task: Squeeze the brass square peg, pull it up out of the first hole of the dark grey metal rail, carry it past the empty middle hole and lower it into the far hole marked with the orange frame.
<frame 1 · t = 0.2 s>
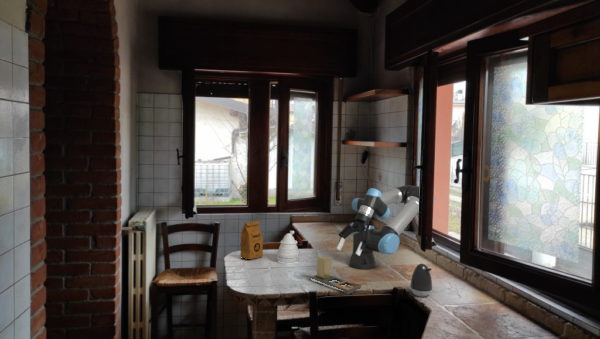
hand: (347, 252, 236), 16 cm above the table, tool tilted 35°, fingers open, 13 cm apart
honey pot: (288, 261, 271), on the table
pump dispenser: (420, 295, 221), on the table
rail: (335, 284, 232), on the table
brass peg: (323, 280, 238), resting in rail
coffee package: (251, 258, 275), on the table
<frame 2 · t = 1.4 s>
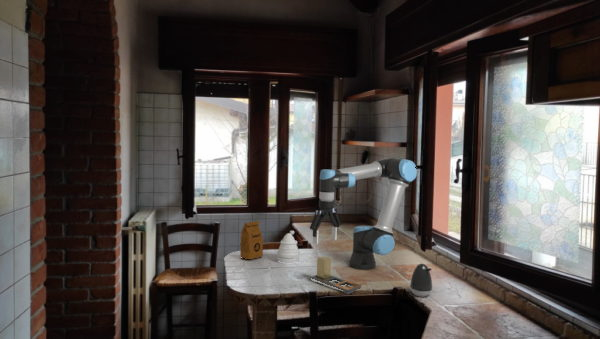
hand: (324, 241, 236), 21 cm above the table, tool pointing down, fingers open, 13 cm apart
nothing on the table moved.
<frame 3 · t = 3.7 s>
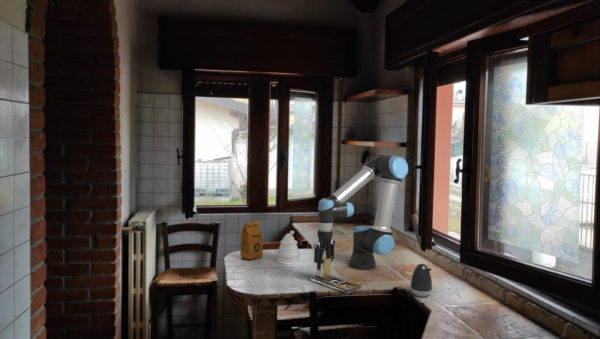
hand: (323, 274, 238), 3 cm above the table, tool pointing down, fingers closed on brass peg, 5 cm apart
brass peg: (323, 280, 238), resting in rail, touching gripper
everything else where it was.
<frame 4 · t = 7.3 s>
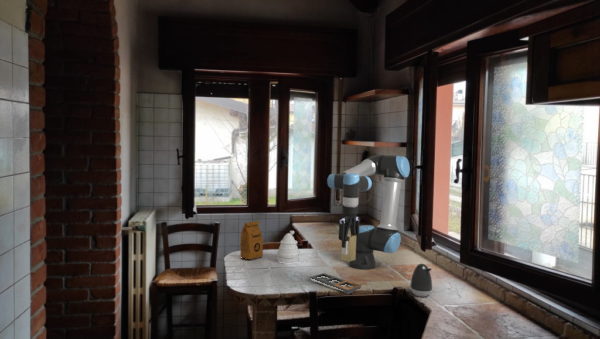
hand: (348, 252, 225), 18 cm above the table, tool pointing down, fingers closed on brass peg, 5 cm apart
brass peg: (348, 259, 225), point 15 cm above the table, touching gripper
everything else where it was.
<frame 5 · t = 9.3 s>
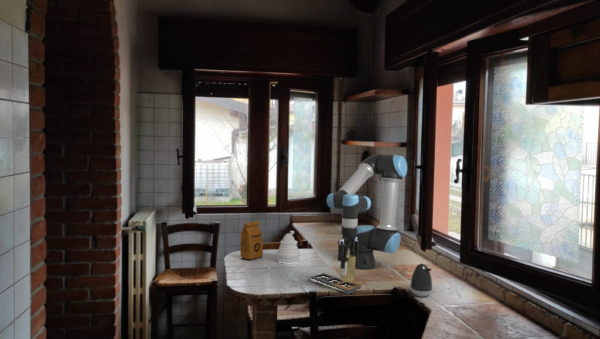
hand: (347, 273, 226), 8 cm above the table, tool pointing down, fingers closed on brass peg, 5 cm apart
brass peg: (347, 280, 226), point 5 cm above the table, touching gripper
everything else where it was.
when the fingers open (5 cm above the table, at t = 10.9 s): brass peg drops 1 cm, resting in rail.
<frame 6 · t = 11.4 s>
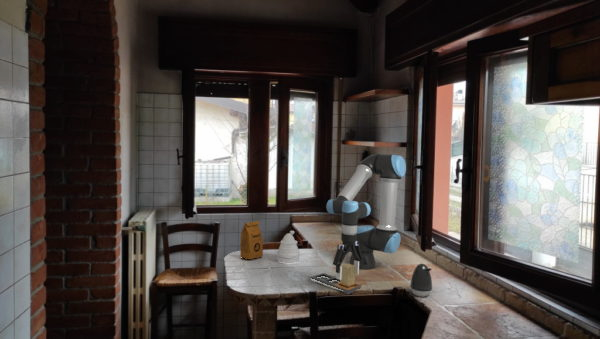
hand: (347, 276, 226), 6 cm above the table, tool pointing down, fingers open, 12 cm apart
brass peg: (347, 289, 226), resting in rail
everything else where it was.
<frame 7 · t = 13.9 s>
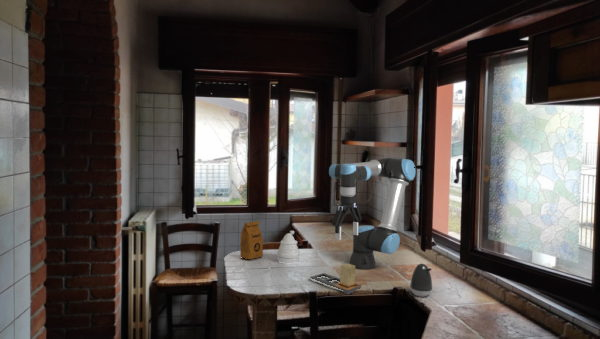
hand: (347, 237, 231), 24 cm above the table, tool pointing down, fingers open, 13 cm apart
nothing on the table moved.
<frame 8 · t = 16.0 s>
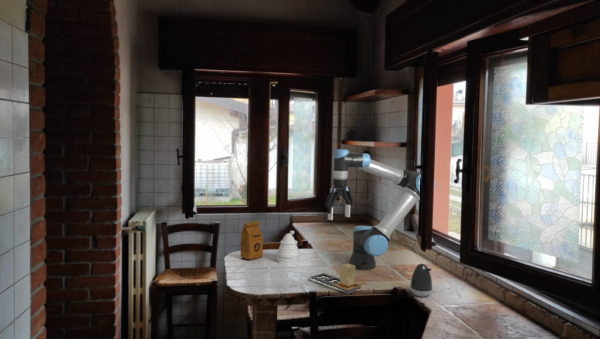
hand: (338, 218, 246), 31 cm above the table, tool pointing down, fingers open, 13 cm apart
nothing on the table moved.
at the end: brass peg 0.0 cm from the target spot on the rail, point 0.0 cm above the rail's base; brass peg tilted 0°; the gripper is holding nothing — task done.
